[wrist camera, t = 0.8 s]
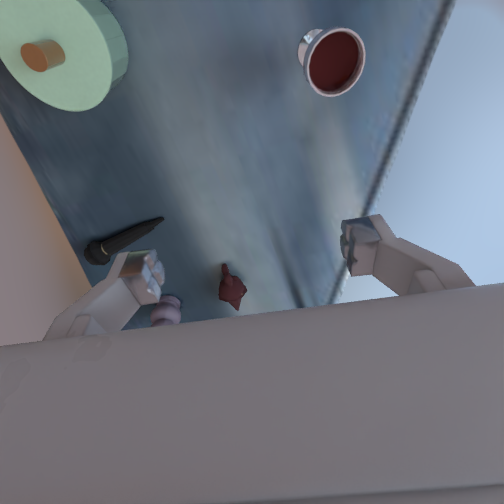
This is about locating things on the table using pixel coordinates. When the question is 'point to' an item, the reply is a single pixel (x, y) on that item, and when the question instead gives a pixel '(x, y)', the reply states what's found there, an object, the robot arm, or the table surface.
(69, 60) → the lid
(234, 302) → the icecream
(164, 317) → the cat figurine
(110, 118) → the table surface
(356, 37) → the wineglass
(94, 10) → the tin
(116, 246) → the microphone
